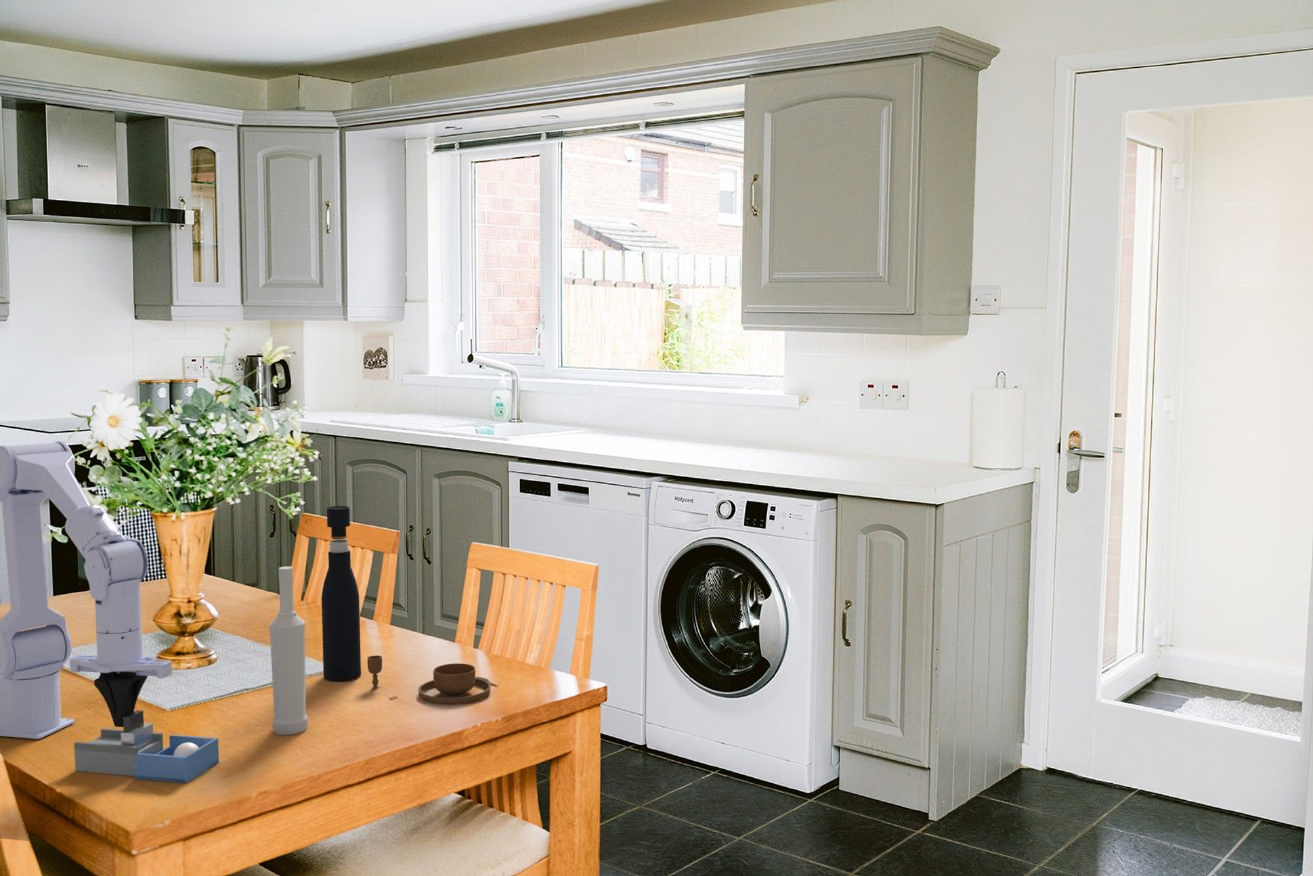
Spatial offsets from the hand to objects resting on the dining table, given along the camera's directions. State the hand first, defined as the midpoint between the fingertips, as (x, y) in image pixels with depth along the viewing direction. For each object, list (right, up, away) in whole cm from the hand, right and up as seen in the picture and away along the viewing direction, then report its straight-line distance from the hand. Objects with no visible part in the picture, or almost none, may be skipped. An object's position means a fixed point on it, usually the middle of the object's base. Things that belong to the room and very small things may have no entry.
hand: (123, 724), depth 163 cm
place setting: (+37, -4, +36) cm, 52 cm away
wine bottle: (+19, -2, +43) cm, 47 cm away
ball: (+9, -4, -2) cm, 10 cm away
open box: (+8, -6, -1) cm, 10 cm away
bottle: (+18, -5, +16) cm, 25 cm away
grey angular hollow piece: (+2, -3, 0) cm, 3 cm away
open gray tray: (0, -6, +1) cm, 6 cm away
